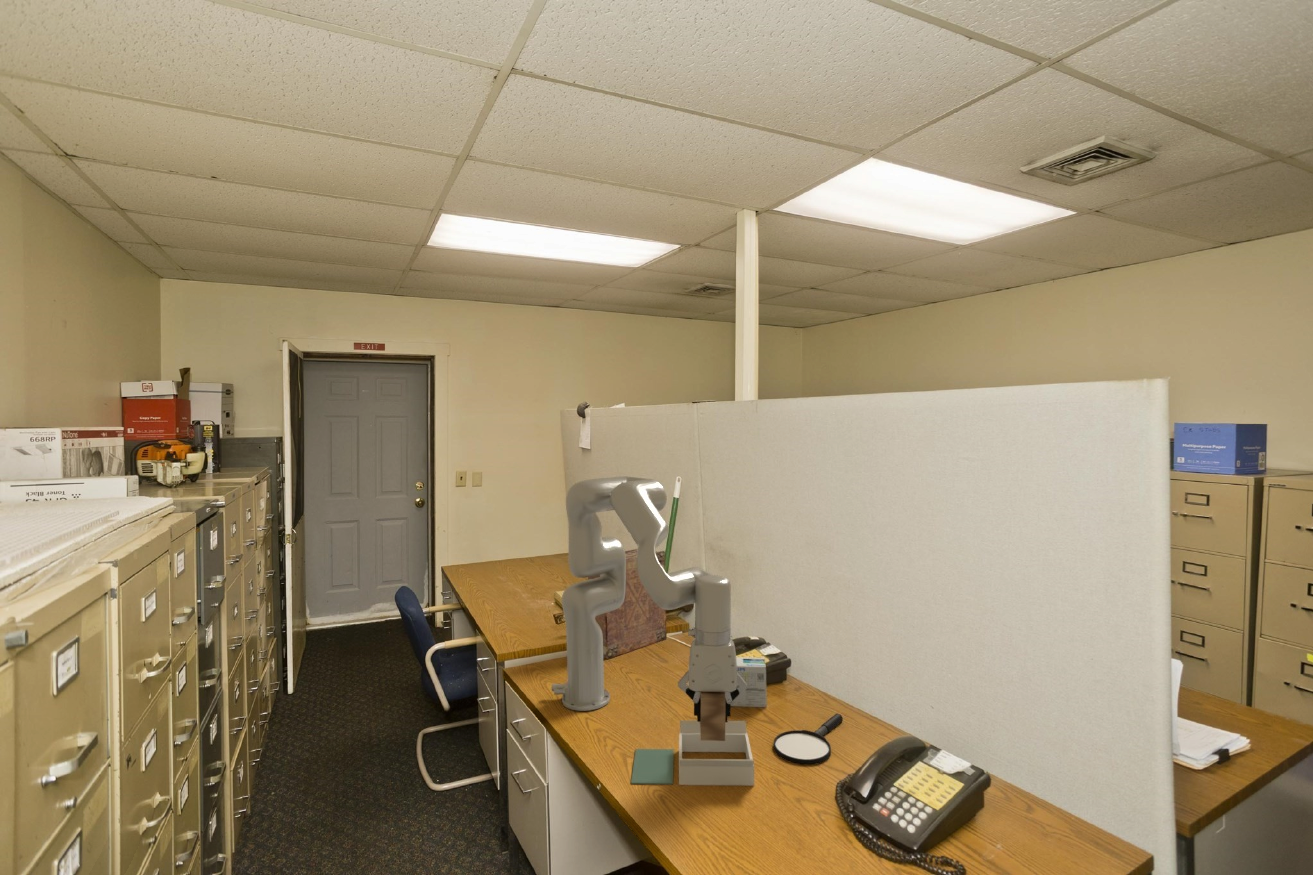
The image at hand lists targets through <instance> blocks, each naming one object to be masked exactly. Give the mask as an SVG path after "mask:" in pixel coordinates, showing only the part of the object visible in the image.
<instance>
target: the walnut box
mask: <svg viewBox="0 0 1313 875" xmlns="http://www.w3.org/2000/svg"><path fill="white" fill-rule="evenodd" d="M700 702H701V721H700V734H701V740H707V741H725V704H726V698H725V692H701V695H700Z"/></svg>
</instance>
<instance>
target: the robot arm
mask: <svg viewBox="0 0 1313 875" xmlns="http://www.w3.org/2000/svg"><path fill="white" fill-rule="evenodd" d="M667 497H668V496H667V492H666V490H665V488H664V487H663V485H662V484H661V483H660V482H659V481H657V480H655V479H652V478H642V477H634V476H624V475H623V476H612V477H610V476H609V477H601V478H600V477H598V478H590V479H585V480H580V481H577V482H576V483H574V484H572V486H570V487H569V489H568V491H567V493H566V497H565V510H566V515H567V521H568V558H567V559H568V569H569V571H570V573H571V575H572V576H574V577H575V578H578V579H584V578H588V577H591V576H596V575H600V577H599V578H595V579H589V580H588V579H585V580H582V581H577V582H575V583H572V584H570V585H569V586H567V587H566V588H565V589H564V591H563V593H562V595H561V605H562V606H561V607H562V610H563V614H564V621H565V629H566V630H565V632H566V634H565V635H566V665H567V666H566V668H567V669H566V670H567V671H566V672H567V673H566V674H567V682H564V683H552V684H551V692H553V693H554V694H553V695H556V696H557V695H562V696H561V703H562V705H563V706H564V707H565V708H566V709H568V710H572V711H576V712H577V711H579V712H588V711H593V710H598V709H601V708H603V707H604V706H606V705H607V704H609V702H610V700H611V694H610V692H609V691H608V690H607V689H606V688H605V687H604V686H605V679H604V674H605V672H604V657H603V633H602V630H601V628H600V626H599V625H598V623H597V622H596V620H595V617H596V616H598V615H600V614H604V613H607V612H610V611H614V610H616V609H618V608H619V607H621V605H622V604H623V602H624V598H625V584H626V554H625V551H626V550H625V548H624V545H623V543H622V542H621V541H620V540H619V539H618V538H616V537H614V536H608V535H607V536H602V532H603V531H602V528H603V526H602V521H601V520H600V517H599V516H598V514H597V513H601V512H610V511H614V512H615V513H616V515H617V516H618V518H619V519H620V521H621V523H622V524H623V526H624V527H625V529H626V530H627V532H628V533H629V535H630V537H631V538H632V540H633V541H634V542H635V544H636V546H637V549H638V550H637V557H636V563H637V571H638V576H639V578H640V581H641V583H642V584H643V586H644V588H645V589H646V591H647V593H648V594H649V596H650V597H651V598H652V600H653V601H654V602H655V603H656V604H657V605H658V606H659V607H661V608H662V609H665V610H666V611H670V610H676V609H678V608H679V609H680V608H682V607H684V606H688V605H694V608H695V609H694V627H693V628H691V629H690V628H688V629H687V630H688V634H687V635H688V636H690V637H693V639H692V641H691V643H690V648H689V657H688V658H689V659H688V670H687V671H685V673H684V674H683V676H681V678H680V679H679V681H678V682H677V687H678V688H679V689H680V690H681V691H683V692H684V693H685V694H686V696H688V697H689V699H691V700H692V702H693V716H695V717H697V718H696V721H697V722H700V721H701V702H700V695H701V692H725V698H726V704H725V722H727V721H728V717H731V712H732V711H731V709H732V708H731V707H732V706H731V703H732V701H733V700H734V699H735V698H736V697H737V696H738V695H739V694H740V693H741V692H743V691H744V690H745V689H747V684H746V682H745V681H744V680H743V678H742V677H741V676H740V675H739V674H738V672H737V663H736V657H737V653H736V646H735V642H734V640H732V639H731V637H732V636H731V633H732V632H731V629H732V628H731V624H732V622H731V621H732V612H731V611H732V608H731V607H732V584H731V581H730V580H729V579H728V578H727V577H725V576H722V575H718V574H717V575H716V574H712V573H710V572H709V571H707V570H705V569H702V568H701V567H694V566H693V567H687V568H685V569H680V570H675V571H672V572H668V573H667V572H666V570H665V571H664V569H663V568H662V566H661V565H660V563H659V561H658V559H657V557H656V552H655V551H656V548H658V547H660V545H661V544H662V543H663V542H664V541H665V540H666V538H667V537H668V535H669V532H670V527H669V524H668V523H667V522H666V521H665V519H664V517H663V516H662V514H661V513H660V511H662V510H663V509H664V508H665V506H666V504H667ZM687 683H688V684H687ZM737 683H738V684H739V685H738V686H737Z"/></svg>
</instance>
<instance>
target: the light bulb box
mask: <svg viewBox="0 0 1313 875" xmlns="http://www.w3.org/2000/svg"><path fill="white" fill-rule="evenodd" d="M736 663H737V672H738V674H739V675H740V676H741V677H742V678H743V680H744V681H745V682H746V684H747V689H745V690H744V691H743V692H741V693H740V694H739V695H738V696H737V697H736V698H735V699H734V700H733V701H732V703H731V707H744V708H745V707H748V708H750V707H752V708H767V706H768V704H767V700H768V699H767V697H768V696H767V693H768V692H767V667H766V661H765V657H764V656H763V657H762V656H761V657H760V656H758V657H757V656H756V657H755V656H754V657H752V656H751V657H750V656H749V657H747V656H744V657H742V656H741V657H740V656H736ZM738 685H739V684H738V683H737V686H738Z"/></svg>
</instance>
